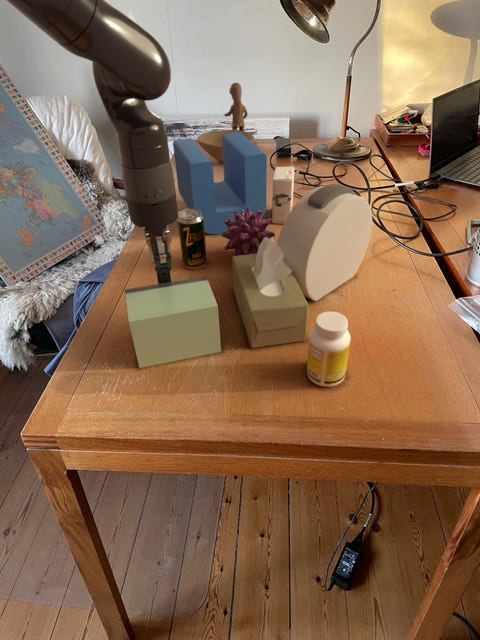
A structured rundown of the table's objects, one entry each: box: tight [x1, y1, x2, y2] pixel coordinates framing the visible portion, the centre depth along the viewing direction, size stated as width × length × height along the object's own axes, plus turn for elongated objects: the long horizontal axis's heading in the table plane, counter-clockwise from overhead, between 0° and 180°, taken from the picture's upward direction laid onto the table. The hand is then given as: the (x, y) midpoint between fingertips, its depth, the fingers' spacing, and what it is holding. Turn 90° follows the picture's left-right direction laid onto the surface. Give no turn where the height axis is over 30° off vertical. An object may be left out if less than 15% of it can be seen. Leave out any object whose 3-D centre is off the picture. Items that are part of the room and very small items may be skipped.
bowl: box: [196, 129, 255, 162], centre depth 149 cm, size 18×18×8 cm
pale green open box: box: [124, 275, 222, 369], centre depth 78 cm, size 14×9×10 cm, turn 105°
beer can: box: [176, 208, 208, 270], centre depth 98 cm, size 5×5×12 cm
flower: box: [220, 206, 276, 256], centre depth 100 cm, size 12×12×12 cm
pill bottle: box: [306, 311, 351, 388], centre depth 70 cm, size 6×6×11 cm
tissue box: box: [231, 237, 309, 349], centre depth 82 cm, size 19×10×16 cm, turn 10°
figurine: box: [223, 82, 248, 131], centre depth 159 cm, size 9×8×20 cm
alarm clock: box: [276, 183, 373, 302], centre depth 88 cm, size 21×8×20 cm, turn 135°
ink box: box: [271, 166, 295, 225], centre depth 115 cm, size 9×5×12 cm, turn 172°
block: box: [172, 132, 268, 235], centre depth 114 cm, size 18×18×18 cm
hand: (165, 284), depth 80 cm, fingers closed
